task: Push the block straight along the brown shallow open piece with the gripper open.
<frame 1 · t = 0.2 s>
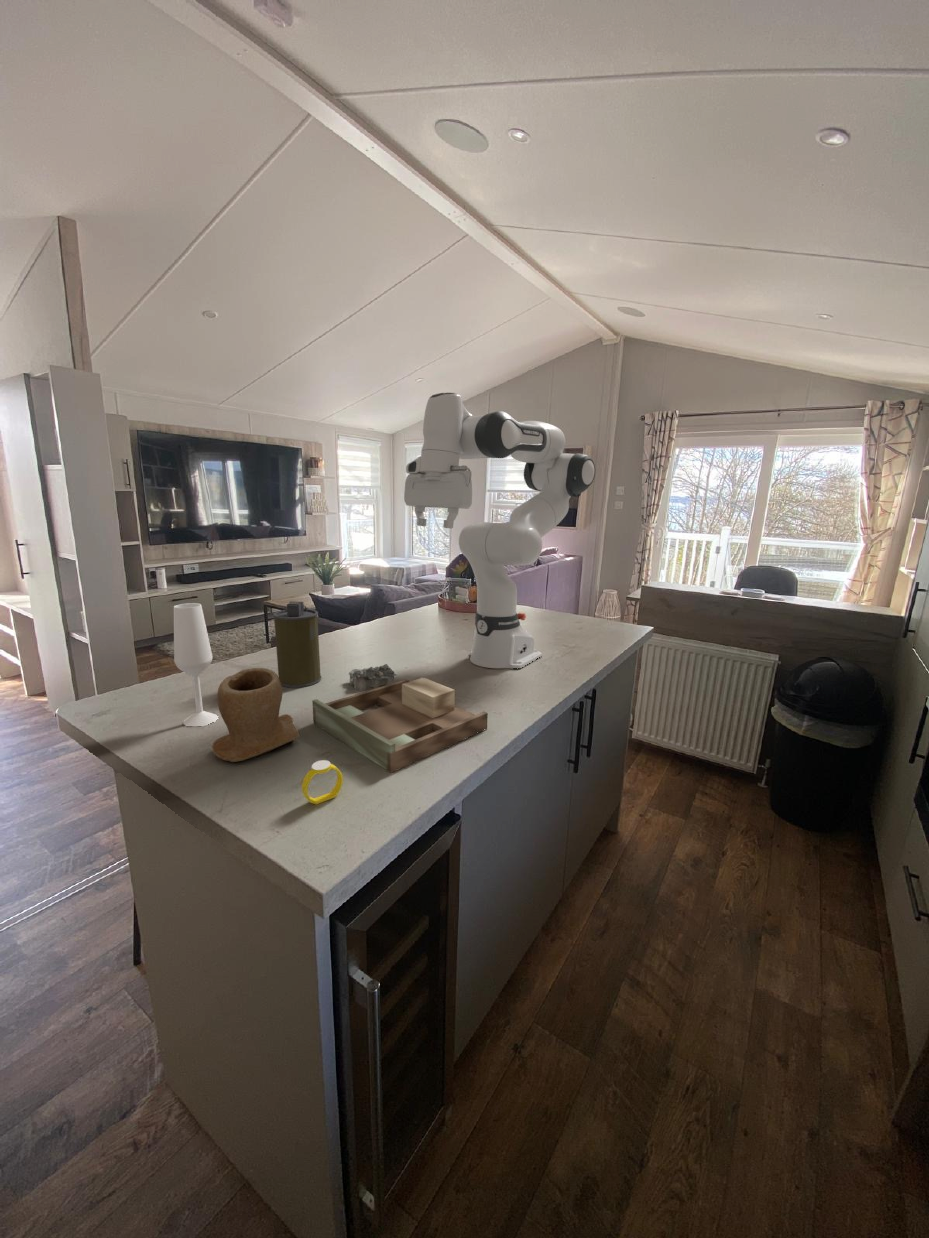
hand: (434, 527, 117), 39 cm above the table, tool pointing down, fingers open, 8 cm apart
champagne flute: (200, 721, 102), on the table
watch: (323, 800, 76), on the table
egg carton: (372, 684, 124), on the table
canister: (300, 680, 125), on the table
brown shallow open piece: (399, 726, 101), on the table
block: (427, 706, 106), point 2 cm above the table, touching brown shallow open piece
clay pipe: (261, 749, 91), on the table
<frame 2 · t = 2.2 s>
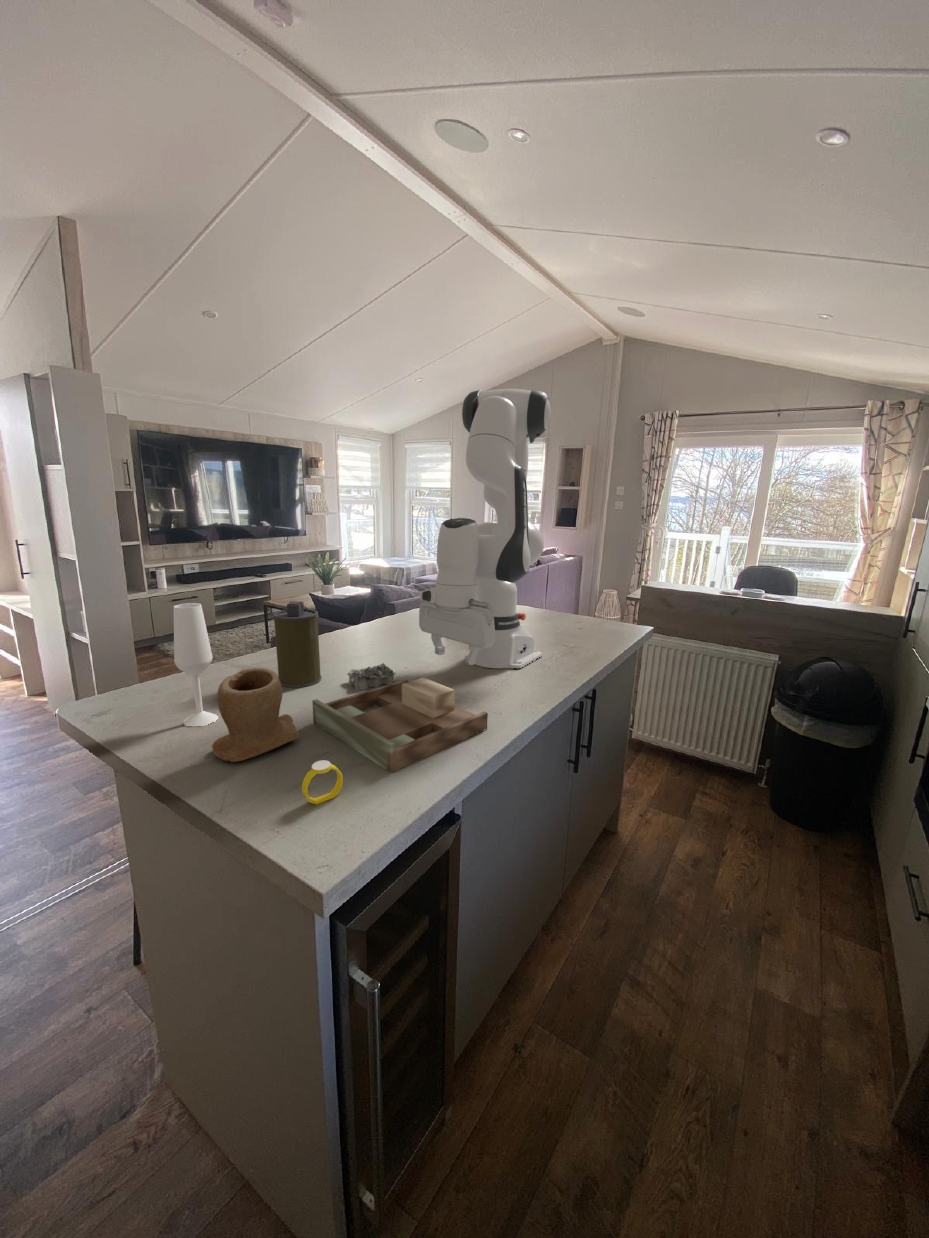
hand: (454, 659, 108), 11 cm above the table, tool pointing down, fingers open, 8 cm apart
nothing on the table moved.
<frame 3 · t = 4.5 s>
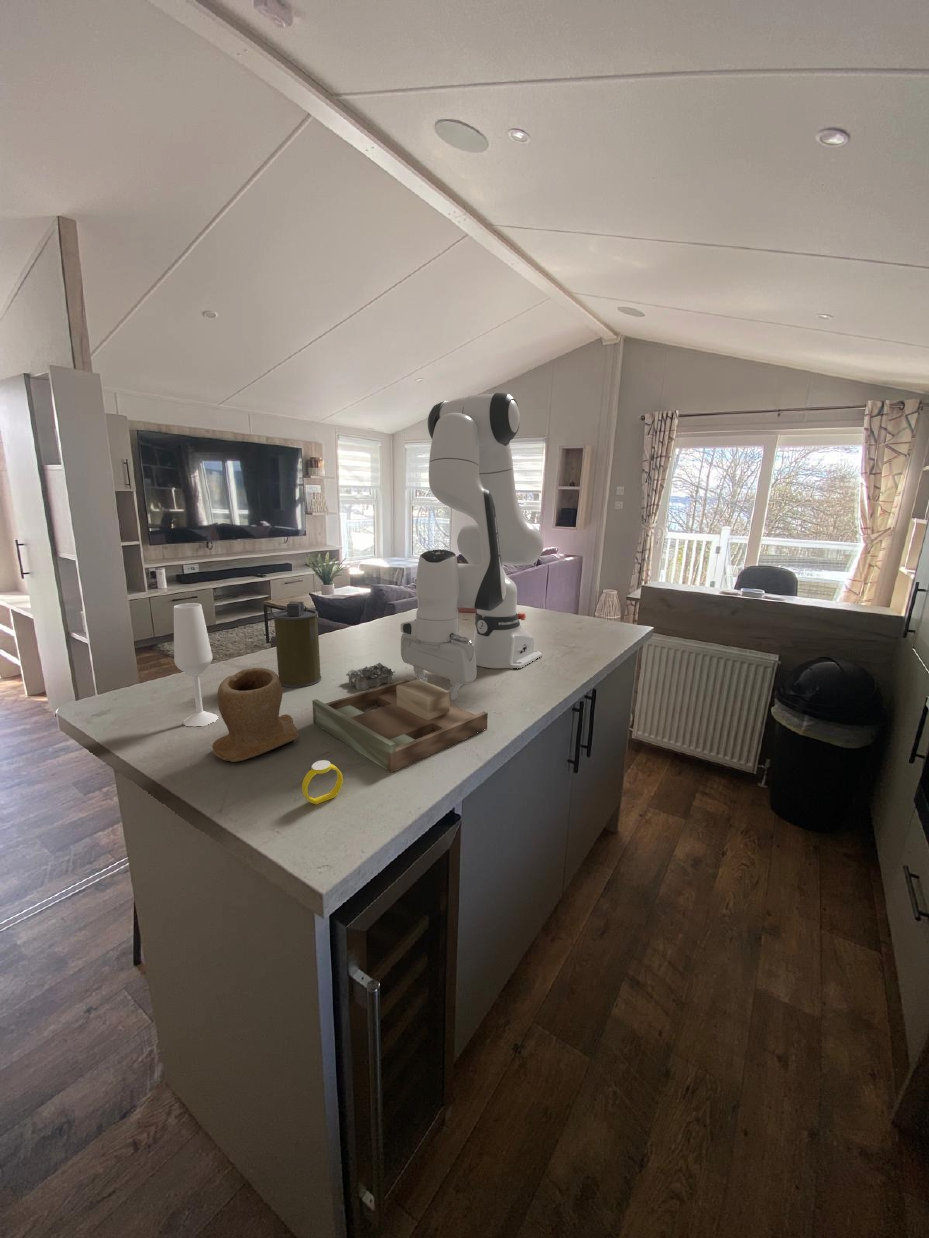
hand: (436, 691, 107), 5 cm above the table, tool pointing down, fingers open, 8 cm apart
block: (422, 708, 105), point 2 cm above the table, touching gripper, brown shallow open piece
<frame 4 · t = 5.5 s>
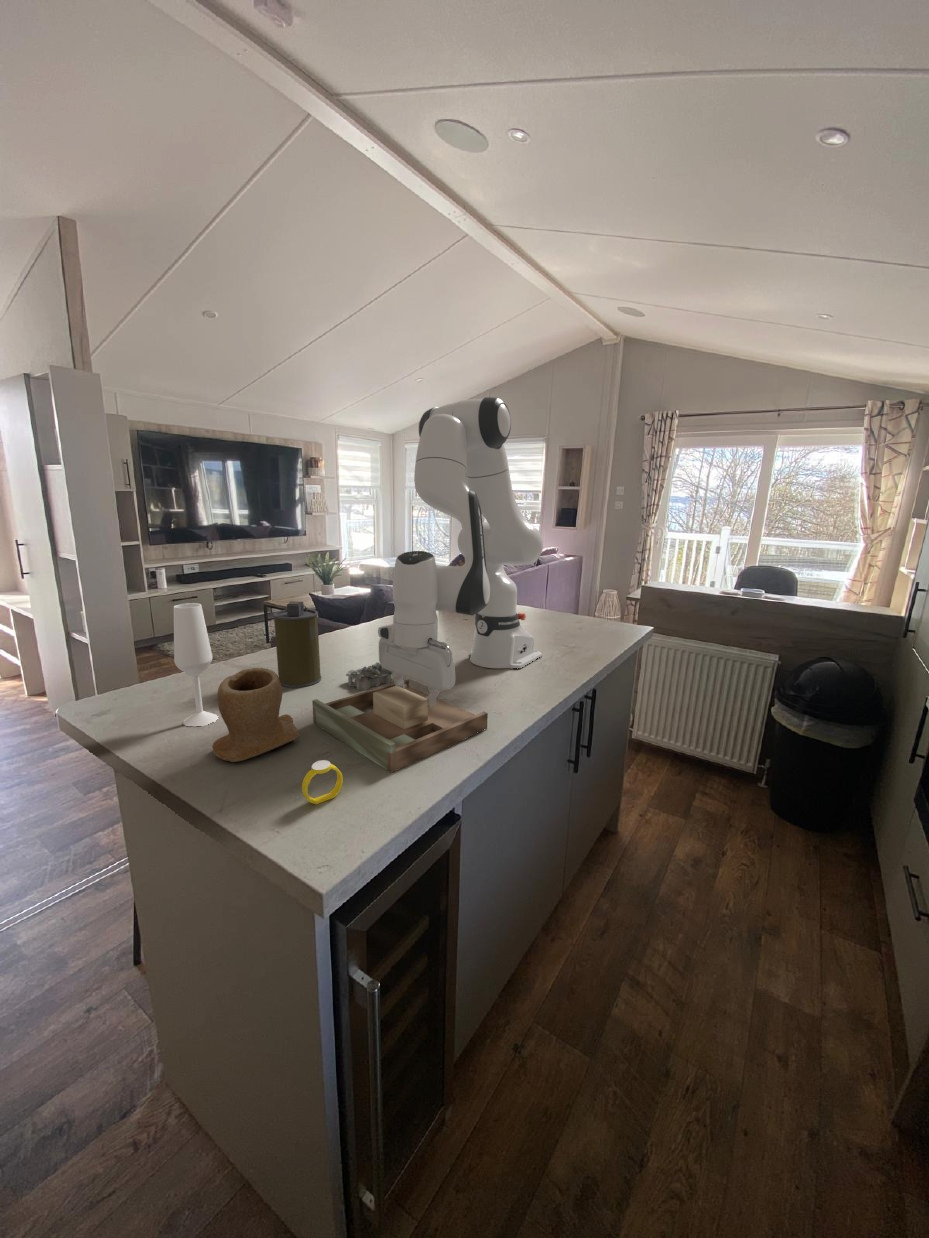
hand: (415, 698, 102), 5 cm above the table, tool pointing down, fingers open, 8 cm apart
block: (400, 716, 100), point 2 cm above the table, touching brown shallow open piece
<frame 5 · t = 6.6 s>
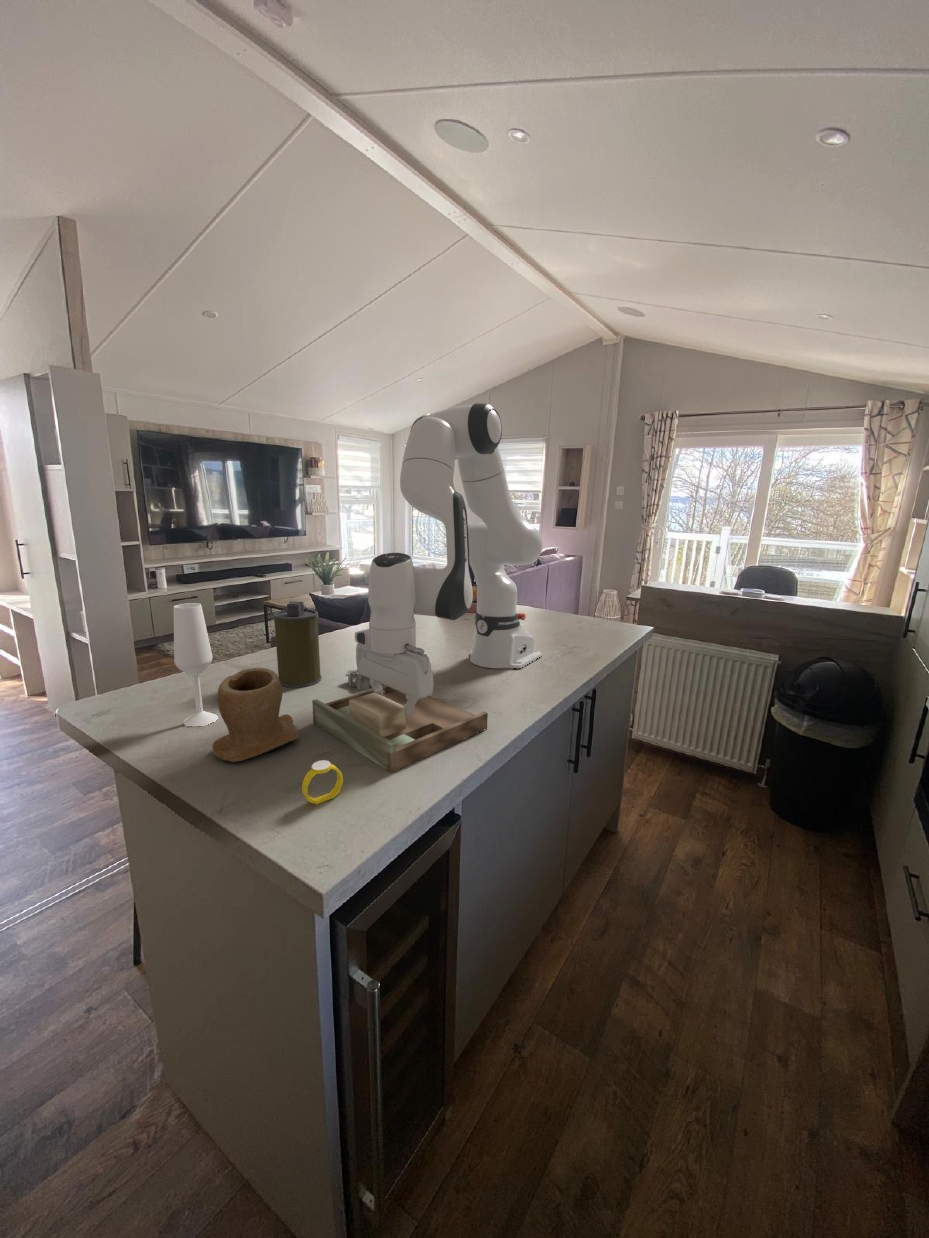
hand: (393, 706, 99), 5 cm above the table, tool pointing down, fingers open, 8 cm apart
block: (377, 724, 97), point 2 cm above the table, touching gripper, brown shallow open piece
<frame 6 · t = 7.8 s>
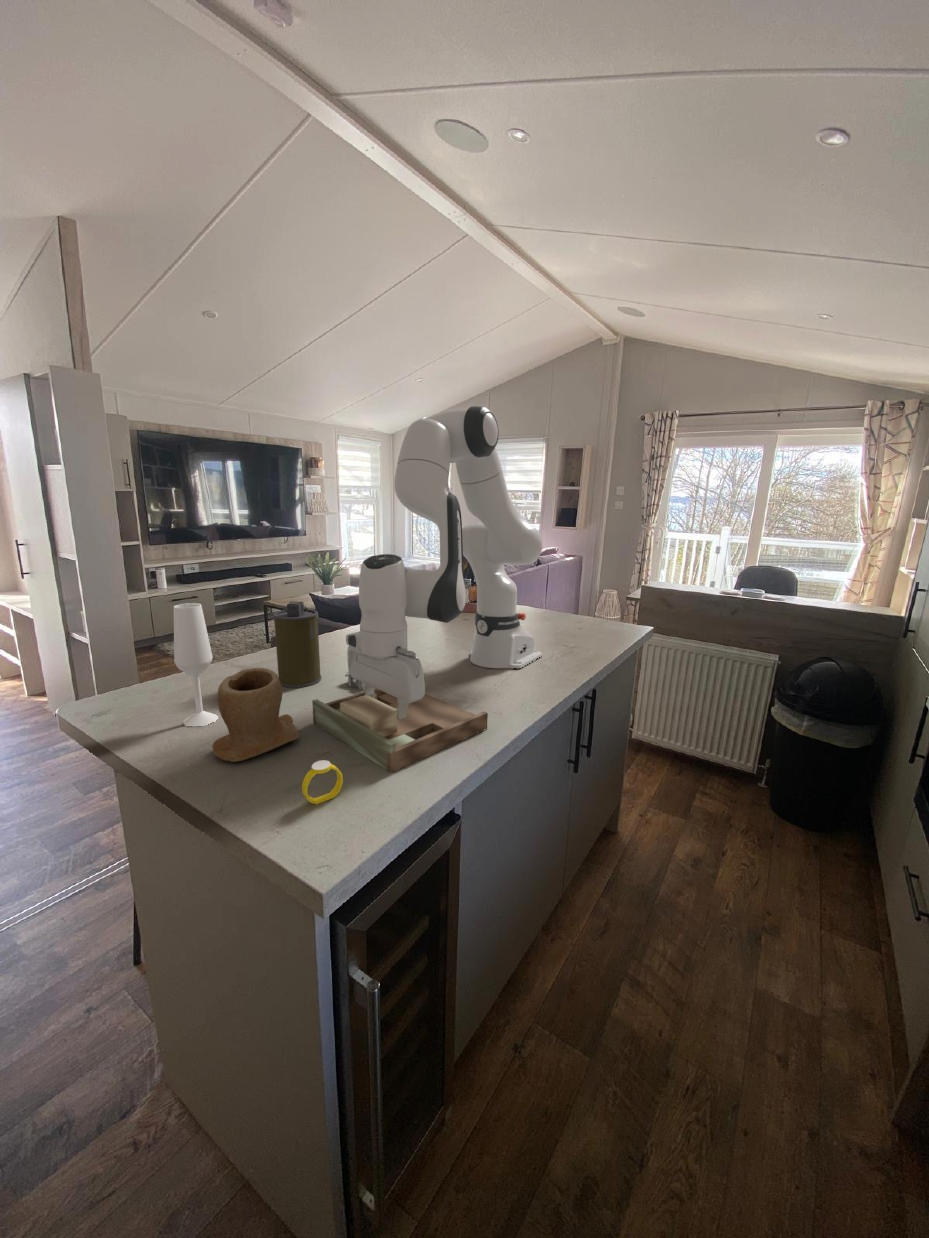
hand: (385, 709, 97), 5 cm above the table, tool pointing down, fingers open, 8 cm apart
block: (368, 727, 95), point 2 cm above the table, touching gripper, brown shallow open piece
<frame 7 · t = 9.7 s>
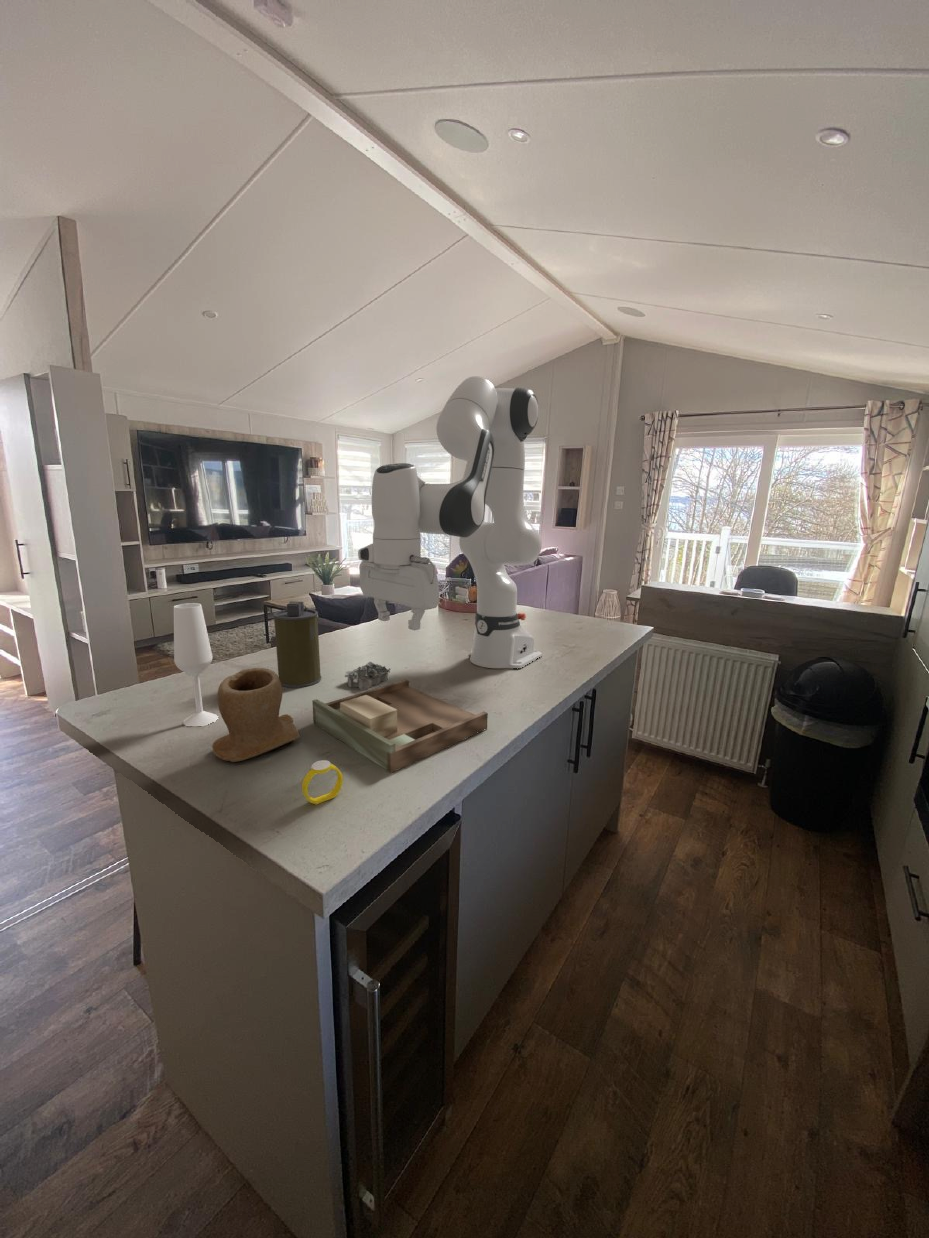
hand: (398, 624, 97), 21 cm above the table, tool pointing down, fingers open, 8 cm apart
block: (368, 727, 95), point 2 cm above the table, touching brown shallow open piece
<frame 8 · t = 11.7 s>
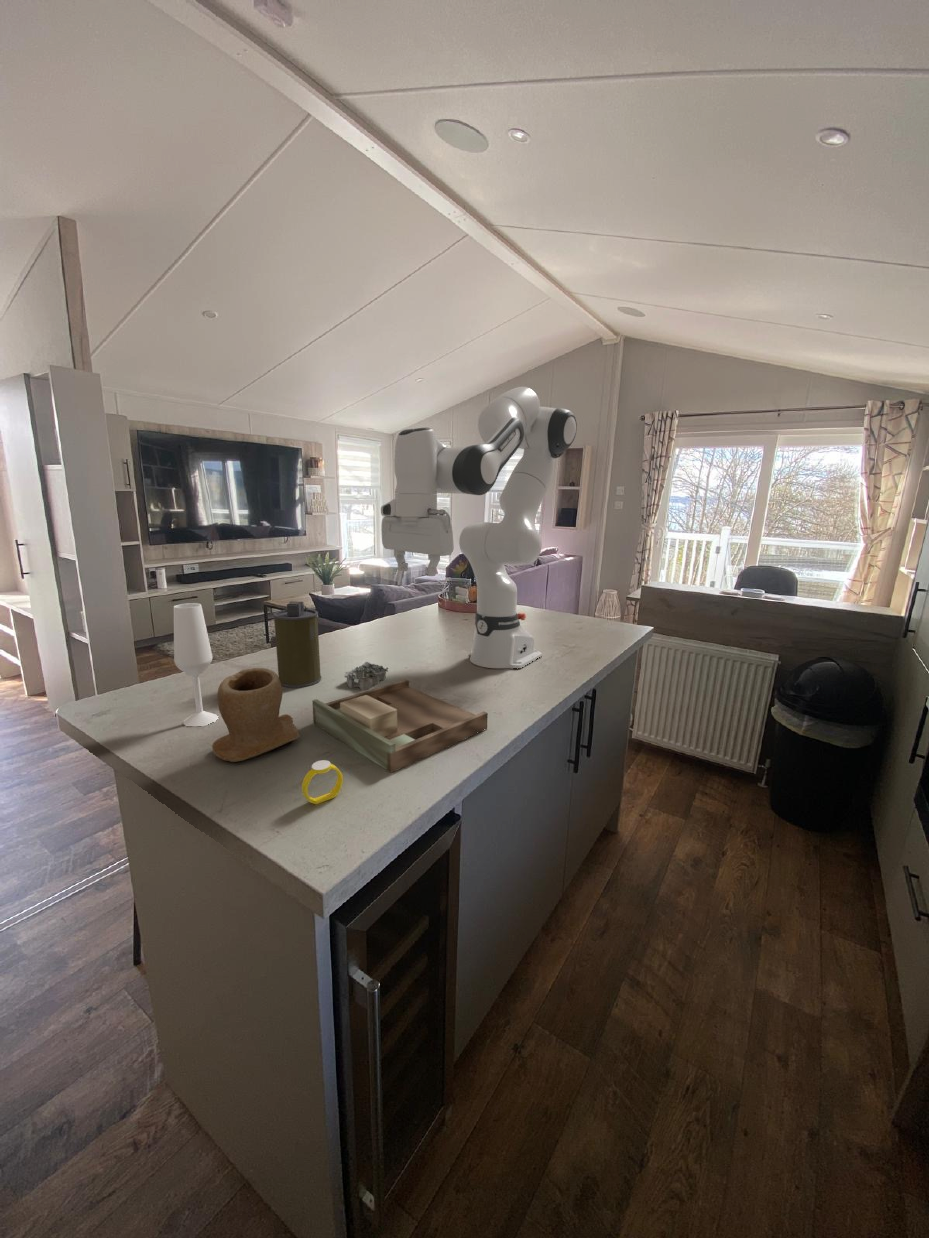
hand: (416, 573, 108), 29 cm above the table, tool pointing down, fingers open, 8 cm apart
at the end: block 0.4 cm from the target spot on the brown shallow open piece, point 2.0 cm above the brown shallow open piece's base; block tilted 0°; block touching brown shallow open piece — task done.
